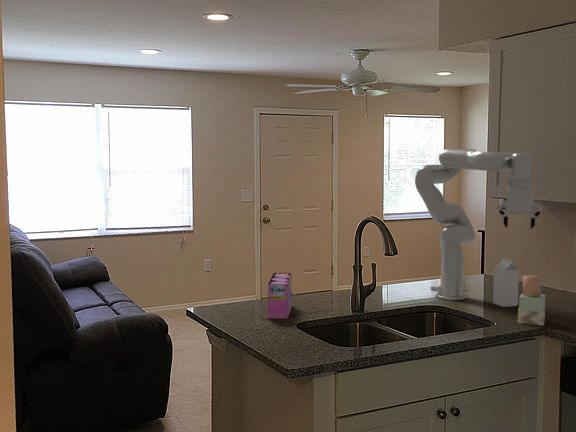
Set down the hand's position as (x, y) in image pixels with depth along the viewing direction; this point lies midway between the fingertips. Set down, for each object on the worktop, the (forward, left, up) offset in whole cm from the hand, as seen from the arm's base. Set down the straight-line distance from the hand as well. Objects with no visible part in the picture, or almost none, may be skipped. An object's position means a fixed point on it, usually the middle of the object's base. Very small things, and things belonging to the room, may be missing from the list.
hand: (518, 227), depth 262 cm
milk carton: (-5, +7, -34) cm, 35 cm away
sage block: (+7, -17, -28) cm, 34 cm away
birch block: (+7, -17, -34) cm, 38 cm away
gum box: (-84, -44, -34) cm, 101 cm away
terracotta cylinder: (+7, -17, -23) cm, 30 cm away
